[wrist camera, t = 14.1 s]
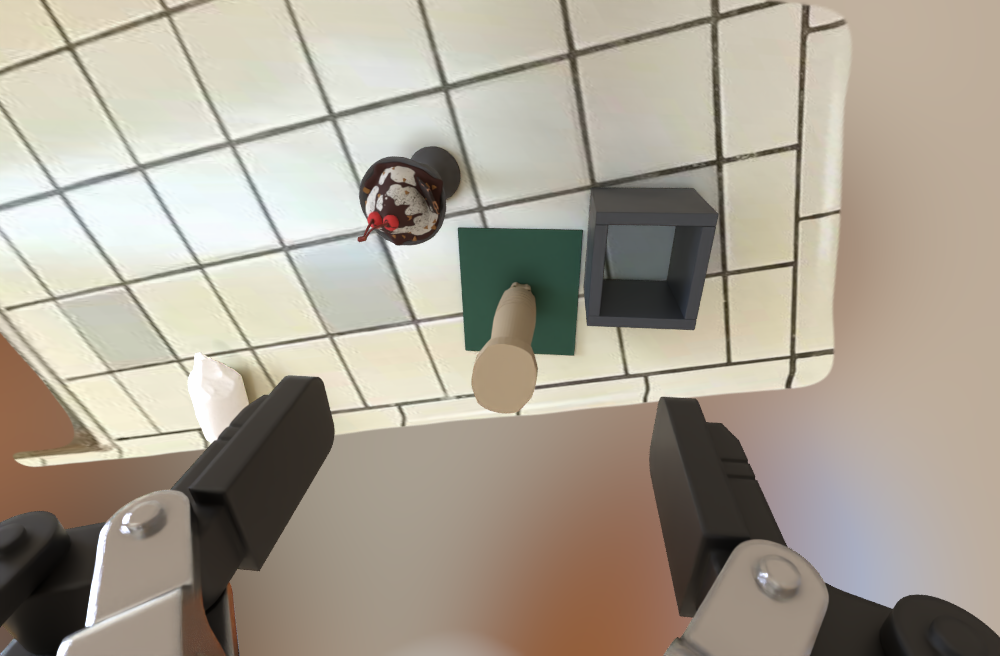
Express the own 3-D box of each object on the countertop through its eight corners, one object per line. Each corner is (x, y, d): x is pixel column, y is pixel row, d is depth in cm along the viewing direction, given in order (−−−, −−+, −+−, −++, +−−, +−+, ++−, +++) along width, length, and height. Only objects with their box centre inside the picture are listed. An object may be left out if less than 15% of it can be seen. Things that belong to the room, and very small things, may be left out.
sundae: (392, 196, 46) (325, 251, 33) (407, 125, 43) (339, 155, 30) (458, 220, 46) (417, 283, 34) (477, 151, 43) (440, 192, 30)
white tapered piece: (245, 340, 57) (215, 367, 52) (263, 418, 63) (238, 449, 58) (197, 335, 57) (163, 360, 52) (220, 413, 63) (191, 442, 58)
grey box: (591, 187, 44) (596, 212, 37) (693, 188, 43) (719, 213, 36) (583, 287, 48) (586, 326, 42) (675, 290, 47) (694, 330, 41)
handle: (549, 271, 48) (543, 351, 35) (536, 326, 51) (527, 418, 38) (501, 261, 48) (477, 338, 35) (492, 317, 51) (467, 406, 38)
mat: (458, 227, 47) (457, 228, 47) (582, 229, 46) (582, 230, 45) (466, 349, 54) (465, 350, 54) (574, 354, 52) (574, 355, 52)
